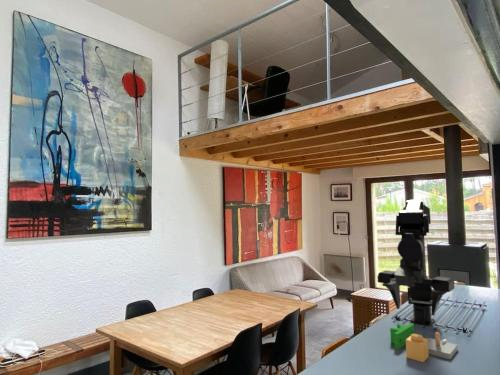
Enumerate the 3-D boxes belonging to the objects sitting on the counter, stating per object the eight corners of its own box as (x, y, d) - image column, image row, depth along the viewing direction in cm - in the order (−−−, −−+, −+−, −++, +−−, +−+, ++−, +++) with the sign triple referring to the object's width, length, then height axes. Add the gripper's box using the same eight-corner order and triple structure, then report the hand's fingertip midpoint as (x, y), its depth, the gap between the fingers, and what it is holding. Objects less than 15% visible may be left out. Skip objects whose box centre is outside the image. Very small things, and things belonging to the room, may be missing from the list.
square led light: (412, 352, 97) (411, 331, 98) (428, 356, 94) (427, 335, 95) (406, 357, 94) (405, 336, 94) (423, 362, 91) (422, 340, 91)
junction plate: (428, 341, 104) (427, 325, 104) (458, 349, 99) (457, 331, 99) (418, 351, 98) (417, 333, 98) (450, 359, 92) (449, 340, 93)
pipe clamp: (402, 336, 110) (402, 321, 110) (414, 339, 107) (414, 324, 107) (386, 346, 102) (385, 330, 103) (398, 349, 100) (397, 333, 100)
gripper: (368, 255, 96) (370, 311, 96) (441, 262, 83) (444, 327, 83) (384, 251, 104) (386, 303, 104) (453, 256, 92) (456, 316, 91)
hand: (415, 311), depth 95 cm, fingers open, 9 cm apart
